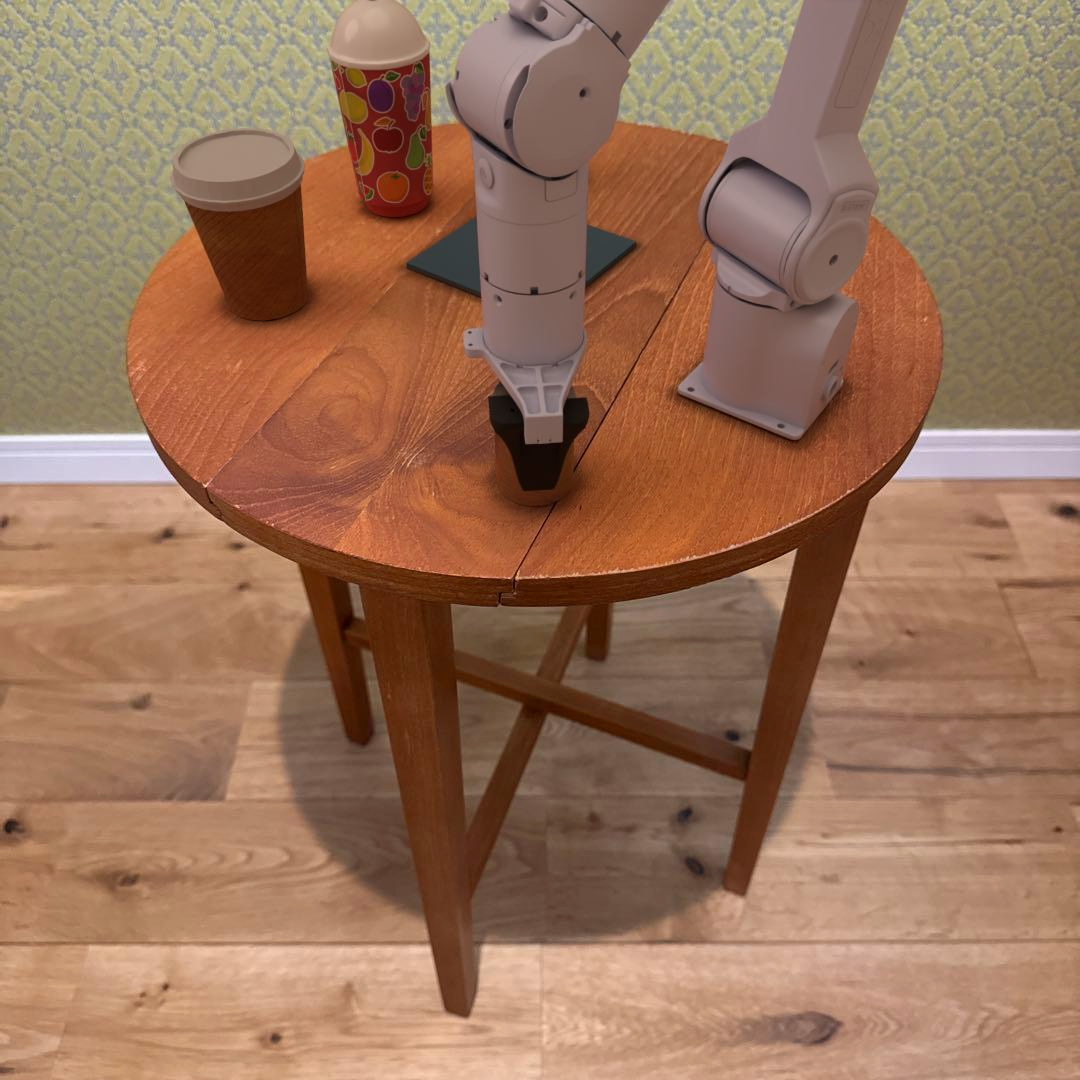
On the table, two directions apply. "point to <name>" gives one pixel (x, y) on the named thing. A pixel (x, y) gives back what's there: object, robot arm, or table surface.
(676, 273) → the table surface
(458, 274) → the mat
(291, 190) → the disposable coffee cup
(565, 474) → the cylinder
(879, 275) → the table surface
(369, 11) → the smoothie
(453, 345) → the table surface
